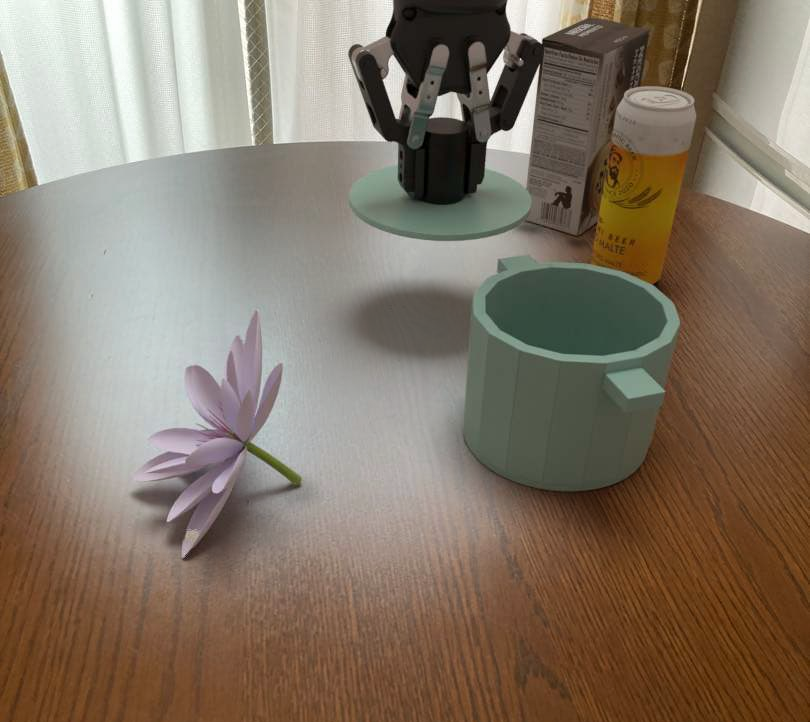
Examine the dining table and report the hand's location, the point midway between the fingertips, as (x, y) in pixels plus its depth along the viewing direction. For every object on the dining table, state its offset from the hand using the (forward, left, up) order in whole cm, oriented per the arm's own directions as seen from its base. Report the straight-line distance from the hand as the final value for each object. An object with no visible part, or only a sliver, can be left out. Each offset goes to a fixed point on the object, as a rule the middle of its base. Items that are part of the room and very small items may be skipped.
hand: (440, 191), depth 68 cm
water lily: (+21, +17, -10) cm, 29 cm away
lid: (0, 0, -1) cm, 1 cm away
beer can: (-18, -1, -10) cm, 21 cm away
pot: (-2, +18, -10) cm, 21 cm away
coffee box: (-20, -15, -10) cm, 27 cm away
